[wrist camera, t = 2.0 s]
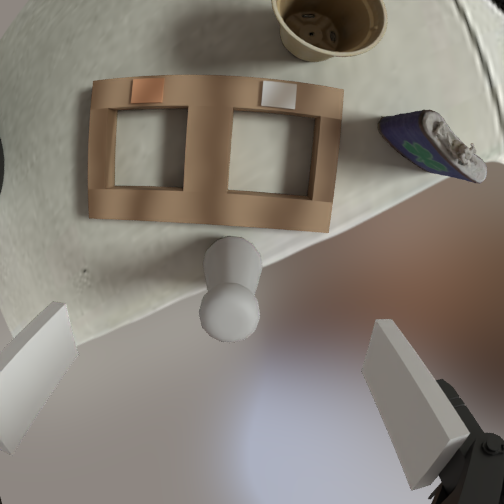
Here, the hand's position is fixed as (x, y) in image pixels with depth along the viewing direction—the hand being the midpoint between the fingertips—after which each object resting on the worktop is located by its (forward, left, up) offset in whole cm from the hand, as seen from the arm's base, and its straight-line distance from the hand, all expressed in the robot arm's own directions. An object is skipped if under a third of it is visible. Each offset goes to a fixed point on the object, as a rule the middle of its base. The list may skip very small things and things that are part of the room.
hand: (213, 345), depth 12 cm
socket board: (-3, +7, -21) cm, 22 cm away
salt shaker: (0, -4, -21) cm, 22 cm away
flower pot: (+6, +20, -21) cm, 30 cm away
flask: (+18, +10, -21) cm, 30 cm away
